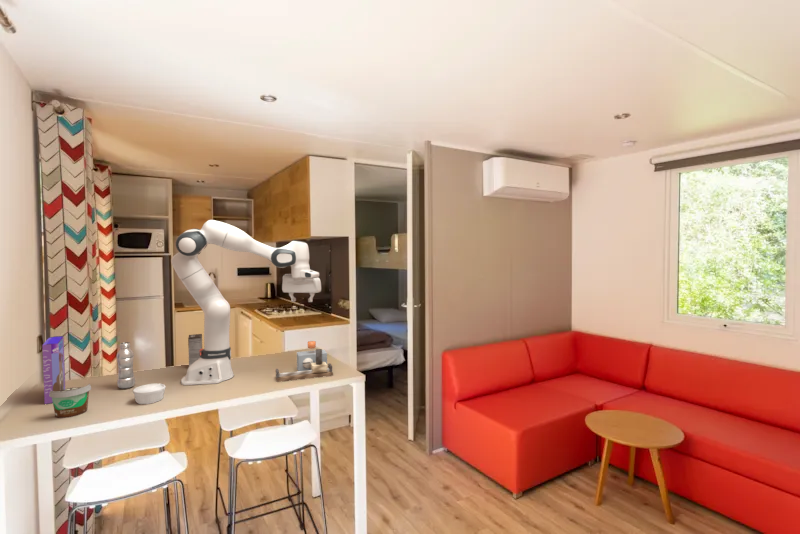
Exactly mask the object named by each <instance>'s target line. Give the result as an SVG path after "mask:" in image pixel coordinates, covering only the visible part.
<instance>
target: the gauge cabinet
mask: <svg viewBox="0 0 800 534" xmlns="http://www.w3.org/2000/svg"><path fill="white" fill-rule="evenodd" d="M322 362H326V364H327V365H328V352H327V351H326V350H325V349H322ZM311 363H316V349H314V350H305V351H296V371H297V370H298V371H306V370H311Z"/></svg>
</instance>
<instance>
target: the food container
mask: <svg viewBox="0 0 800 534" xmlns="http://www.w3.org/2000/svg"><path fill="white" fill-rule="evenodd" d="M91 390H92V386H91V384H90V383H88V385H86V386H79V387H70V388H68V387H67V388H65V390H60V391H52V390H51V391H50V394H49V396H50V397H52V401H53V403H52V405H53V410H54V411H53V412H54V416H55V418H56V419H67V418H72V417H76V416H80V415H82V414H84V413H86V412H87V411H88V406H89V396H90V395H89V394H90V391H91Z"/></svg>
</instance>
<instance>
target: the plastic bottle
mask: <svg viewBox="0 0 800 534" xmlns="http://www.w3.org/2000/svg"><path fill="white" fill-rule="evenodd" d="M134 357H135V352H134V351H133V350H132V349H131V342H130V341H129V342H128V341H127V342H126V341H125V342H121V343H119V350H118V351H117V353H116V362H117V368H118V369H117V370H118V374H117V375H118V377H117V382H116V383H117V387H118V388H119V389H129V388H132V387H133V386H134V385H135V384H136V377H135V375H134V359H135V358H134Z"/></svg>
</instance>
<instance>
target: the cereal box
mask: <svg viewBox="0 0 800 534" xmlns="http://www.w3.org/2000/svg"><path fill="white" fill-rule="evenodd" d="M65 368H66V367H65V337H64V335H55V336H49V337H47V339H46V340H45V341H44V342H43V344H42V370H43V372H42V373H43V396H44V399H43V400H44V405H45V404H46V405H51V404H52V405H53V401H52V397H50V396H49V394H50V391H51V390H52V391H60V390H65V389H66V369H65Z"/></svg>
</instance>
